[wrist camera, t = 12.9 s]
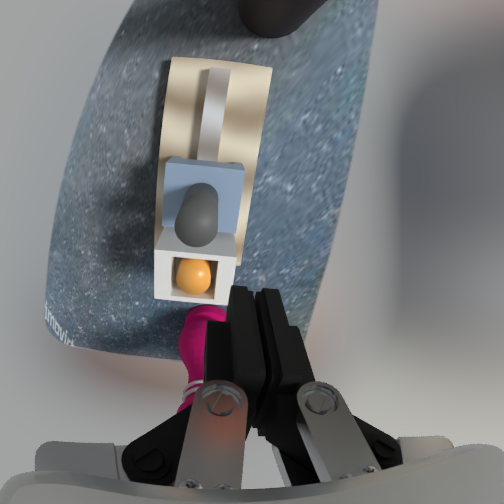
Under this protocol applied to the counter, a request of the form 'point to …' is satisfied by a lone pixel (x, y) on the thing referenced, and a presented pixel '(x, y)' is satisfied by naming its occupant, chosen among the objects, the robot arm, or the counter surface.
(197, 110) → the rail base
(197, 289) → the plunger
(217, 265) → the white box holder
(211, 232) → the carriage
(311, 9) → the vinegar
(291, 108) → the counter surface
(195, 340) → the pepper mill
